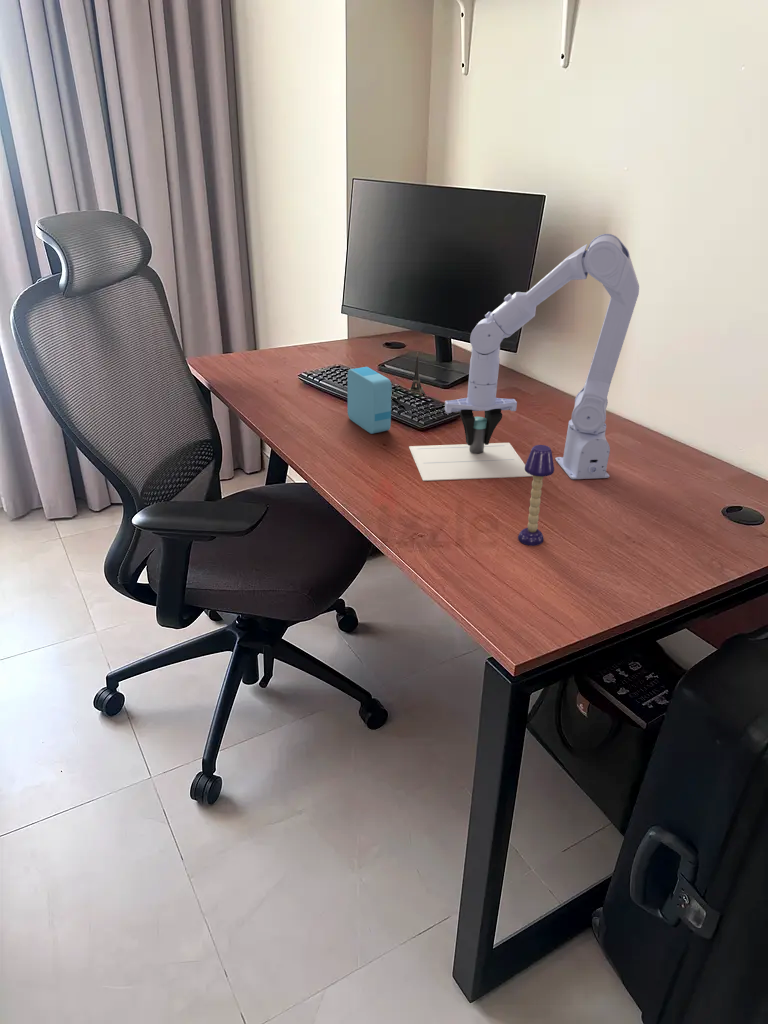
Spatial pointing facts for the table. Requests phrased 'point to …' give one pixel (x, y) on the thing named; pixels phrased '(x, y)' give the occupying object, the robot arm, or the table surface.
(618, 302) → the robot arm
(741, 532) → the table surface
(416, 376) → the eiffel tower figurine
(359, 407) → the light blue block
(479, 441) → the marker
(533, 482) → the toy lamp
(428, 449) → the paper
